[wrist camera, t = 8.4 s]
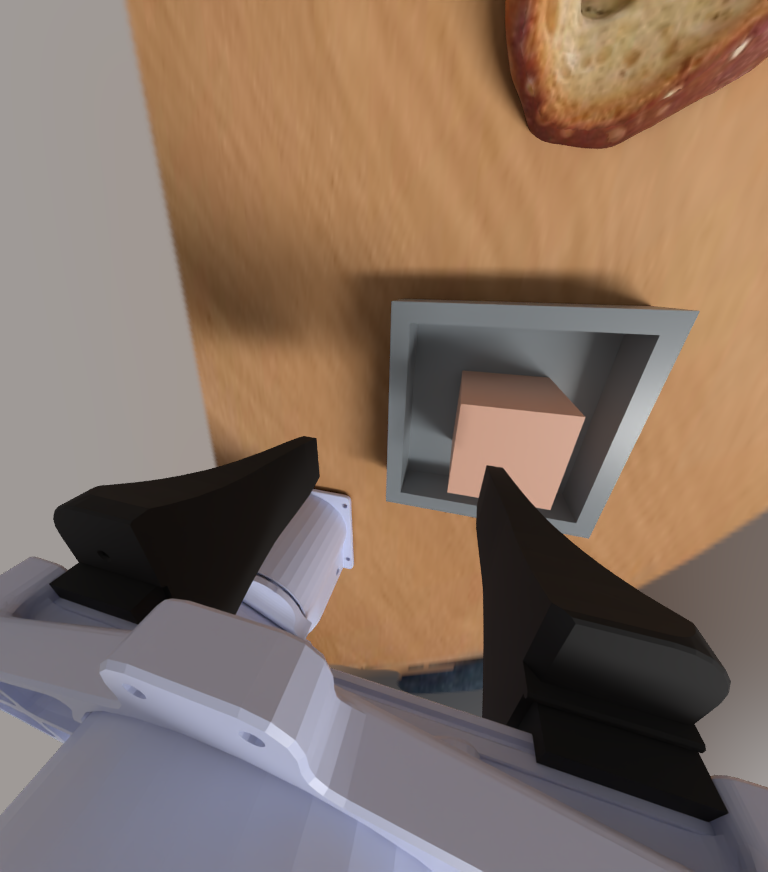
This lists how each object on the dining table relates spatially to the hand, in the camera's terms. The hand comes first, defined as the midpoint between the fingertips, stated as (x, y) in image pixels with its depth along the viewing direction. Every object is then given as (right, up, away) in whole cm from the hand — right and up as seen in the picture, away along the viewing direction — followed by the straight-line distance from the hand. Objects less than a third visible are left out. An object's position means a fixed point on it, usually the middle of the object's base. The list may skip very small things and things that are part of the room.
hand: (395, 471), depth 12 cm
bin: (+7, +3, +7) cm, 11 cm away
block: (+7, +3, +7) cm, 10 cm away
